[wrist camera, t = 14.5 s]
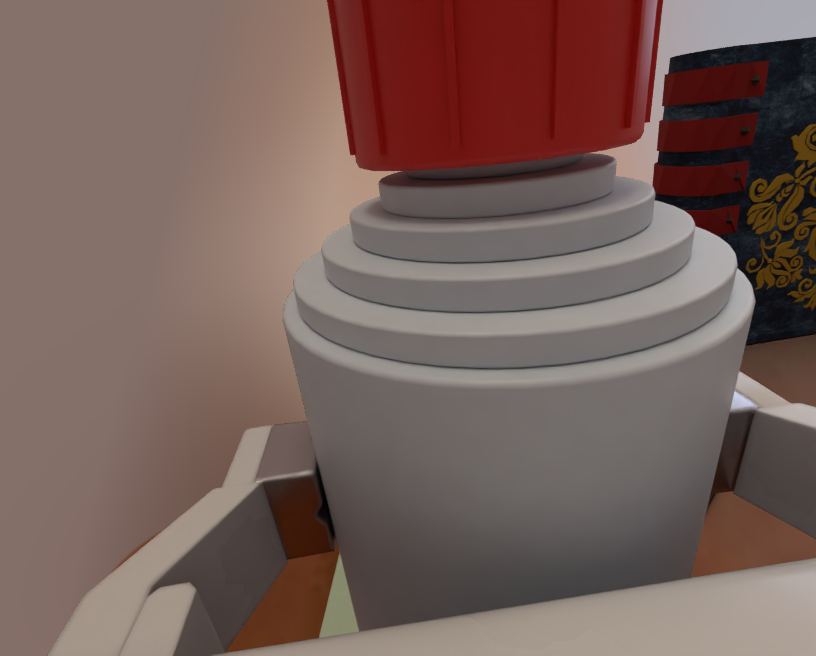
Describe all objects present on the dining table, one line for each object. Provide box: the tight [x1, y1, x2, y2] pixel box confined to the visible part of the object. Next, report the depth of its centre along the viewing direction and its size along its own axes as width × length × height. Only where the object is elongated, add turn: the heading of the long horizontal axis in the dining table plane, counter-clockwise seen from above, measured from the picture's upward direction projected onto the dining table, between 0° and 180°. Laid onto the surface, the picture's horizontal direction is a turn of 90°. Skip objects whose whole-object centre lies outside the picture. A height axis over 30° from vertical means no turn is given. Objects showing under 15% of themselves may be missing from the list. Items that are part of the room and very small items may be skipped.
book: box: [653, 37, 816, 345], centre depth 39 cm, size 25×7×25 cm, turn 97°
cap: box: [327, 0, 663, 171], centre depth 5 cm, size 4×4×3 cm
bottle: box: [283, 153, 756, 632], centre depth 8 cm, size 6×6×16 cm
